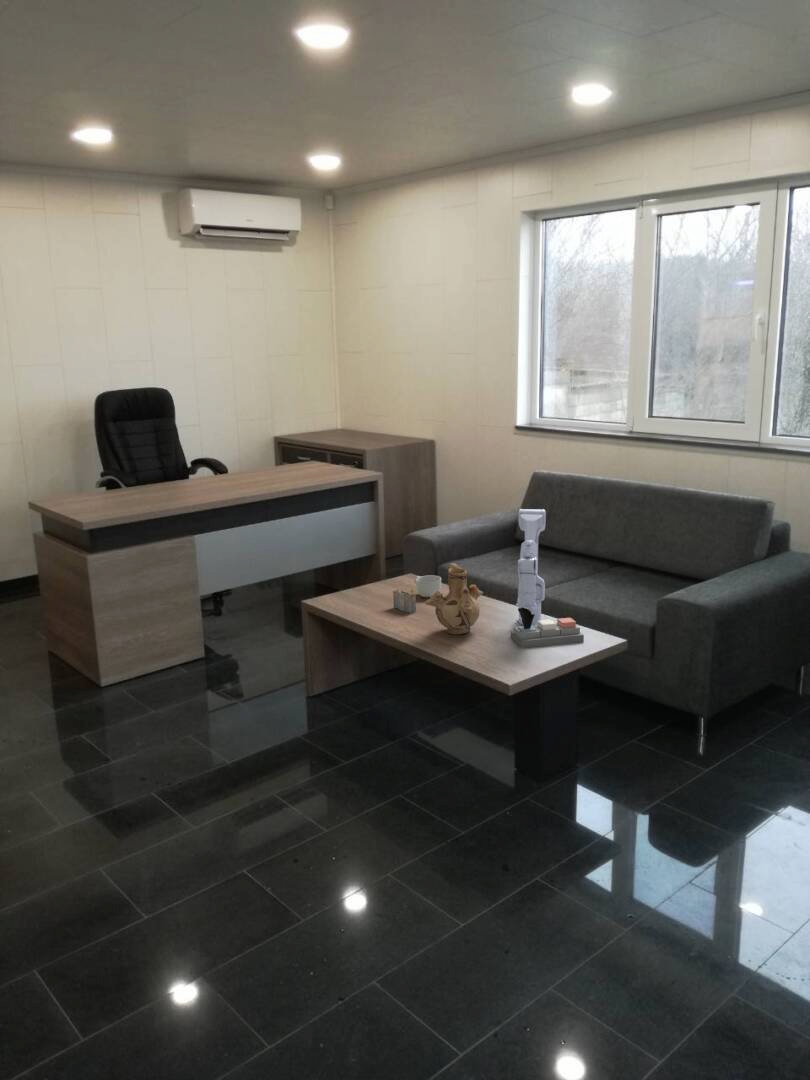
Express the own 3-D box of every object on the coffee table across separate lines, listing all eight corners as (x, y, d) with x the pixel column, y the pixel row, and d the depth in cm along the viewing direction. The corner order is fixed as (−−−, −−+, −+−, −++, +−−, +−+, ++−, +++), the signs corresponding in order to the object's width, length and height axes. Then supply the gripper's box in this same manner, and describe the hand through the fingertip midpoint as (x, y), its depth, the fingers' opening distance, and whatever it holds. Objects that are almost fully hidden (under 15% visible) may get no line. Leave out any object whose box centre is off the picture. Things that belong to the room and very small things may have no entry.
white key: (537, 627, 308) (537, 620, 307) (550, 626, 309) (550, 619, 308) (542, 631, 303) (542, 624, 303) (556, 630, 304) (556, 623, 304)
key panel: (510, 637, 310) (510, 625, 309) (569, 631, 315) (569, 619, 314) (522, 647, 299) (522, 635, 298) (583, 641, 304) (583, 629, 303)
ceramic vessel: (424, 635, 314) (423, 569, 309) (446, 620, 331) (445, 558, 326) (470, 642, 306) (470, 574, 301) (490, 626, 323) (490, 562, 317)
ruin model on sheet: (417, 613, 343) (416, 589, 341) (411, 614, 342) (410, 591, 340) (399, 607, 352) (398, 584, 350) (393, 608, 350) (393, 585, 348)
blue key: (517, 633, 306) (517, 626, 306) (531, 631, 308) (531, 625, 307) (522, 637, 302) (522, 630, 301) (536, 636, 303) (536, 629, 302)
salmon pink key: (557, 625, 309) (557, 618, 309) (570, 624, 310) (570, 617, 310) (562, 629, 305) (562, 622, 304) (575, 628, 306) (575, 621, 305)
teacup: (446, 597, 364) (446, 579, 362) (424, 601, 358) (424, 582, 357) (429, 590, 375) (429, 572, 374) (408, 593, 370) (407, 575, 369)
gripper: (509, 587, 307) (509, 623, 310) (523, 597, 294) (523, 635, 296) (528, 585, 309) (527, 621, 312) (543, 595, 295) (542, 633, 298)
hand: (527, 628), depth 304 cm, fingers closed, pressing on blue key
